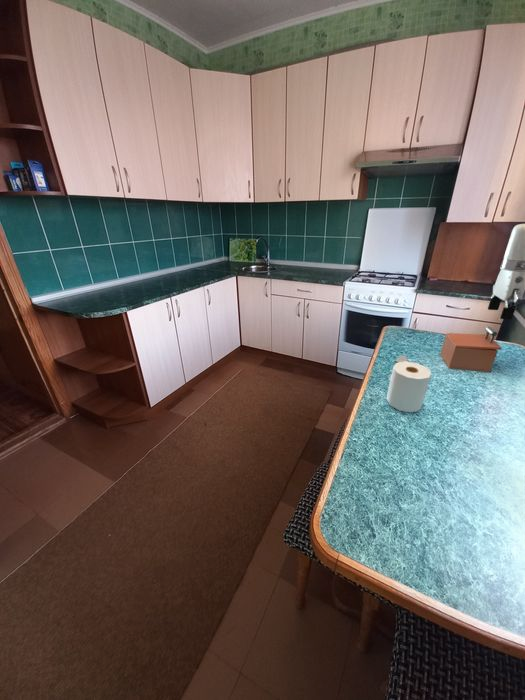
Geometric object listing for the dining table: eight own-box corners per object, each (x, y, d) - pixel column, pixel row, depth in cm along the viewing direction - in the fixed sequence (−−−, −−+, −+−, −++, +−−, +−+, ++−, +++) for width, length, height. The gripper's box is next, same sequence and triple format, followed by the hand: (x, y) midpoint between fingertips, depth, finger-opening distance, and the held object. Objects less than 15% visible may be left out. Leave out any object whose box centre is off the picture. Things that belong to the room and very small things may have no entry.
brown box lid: (487, 336, 112) (491, 323, 110) (501, 349, 102) (506, 335, 100) (445, 334, 116) (448, 322, 113) (455, 347, 106) (459, 333, 103)
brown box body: (477, 357, 117) (484, 337, 113) (489, 372, 107) (498, 350, 103) (439, 354, 120) (445, 334, 116) (448, 368, 110) (455, 347, 106)
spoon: (409, 360, 116) (409, 356, 115) (396, 383, 101) (397, 379, 100) (398, 357, 118) (398, 353, 117) (384, 380, 103) (385, 376, 102)
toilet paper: (387, 390, 98) (394, 358, 92) (421, 397, 94) (430, 365, 88) (385, 407, 90) (392, 374, 84) (422, 416, 86) (432, 381, 80)
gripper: (545, 270, 87) (524, 323, 94) (515, 260, 102) (499, 307, 109) (516, 270, 89) (497, 322, 96) (491, 260, 103) (477, 306, 111)
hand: (498, 314), depth 103 cm, fingers open, 9 cm apart
